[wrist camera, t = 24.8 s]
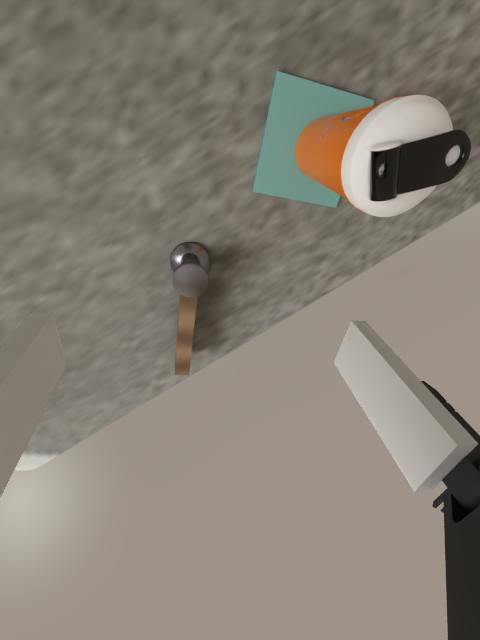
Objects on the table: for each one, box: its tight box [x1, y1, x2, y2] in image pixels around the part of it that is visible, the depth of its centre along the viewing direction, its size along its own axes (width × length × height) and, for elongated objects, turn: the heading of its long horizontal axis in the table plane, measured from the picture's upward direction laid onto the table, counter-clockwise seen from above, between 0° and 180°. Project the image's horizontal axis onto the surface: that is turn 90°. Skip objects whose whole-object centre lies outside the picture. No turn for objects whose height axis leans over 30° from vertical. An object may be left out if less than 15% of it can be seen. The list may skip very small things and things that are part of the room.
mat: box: [252, 71, 375, 208], centre depth 38 cm, size 13×13×1 cm
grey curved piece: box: [170, 242, 210, 271], centre depth 42 cm, size 6×6×5 cm
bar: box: [173, 262, 209, 375], centre depth 45 cm, size 21×5×6 cm, turn 170°
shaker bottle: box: [295, 95, 471, 217], centre depth 29 cm, size 9×9×20 cm
